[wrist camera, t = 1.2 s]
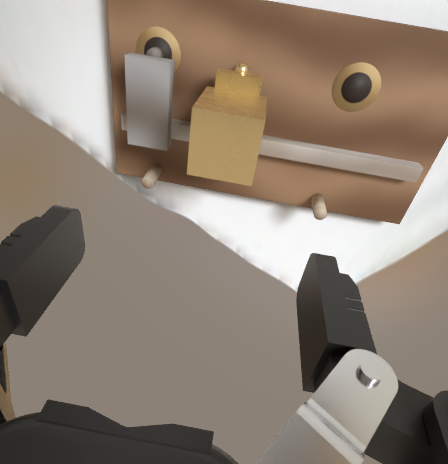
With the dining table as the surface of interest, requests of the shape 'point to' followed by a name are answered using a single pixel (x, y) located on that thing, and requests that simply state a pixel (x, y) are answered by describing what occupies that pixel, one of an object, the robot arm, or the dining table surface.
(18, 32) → the dining table surface
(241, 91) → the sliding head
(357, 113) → the wooden slider board
